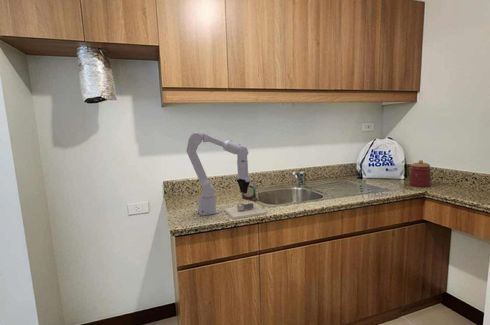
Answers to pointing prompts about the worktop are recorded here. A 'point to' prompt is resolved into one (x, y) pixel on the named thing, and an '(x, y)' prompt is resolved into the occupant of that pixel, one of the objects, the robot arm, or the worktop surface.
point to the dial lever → (244, 206)
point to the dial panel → (244, 212)
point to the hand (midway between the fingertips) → (243, 192)
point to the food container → (250, 192)
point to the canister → (420, 174)
